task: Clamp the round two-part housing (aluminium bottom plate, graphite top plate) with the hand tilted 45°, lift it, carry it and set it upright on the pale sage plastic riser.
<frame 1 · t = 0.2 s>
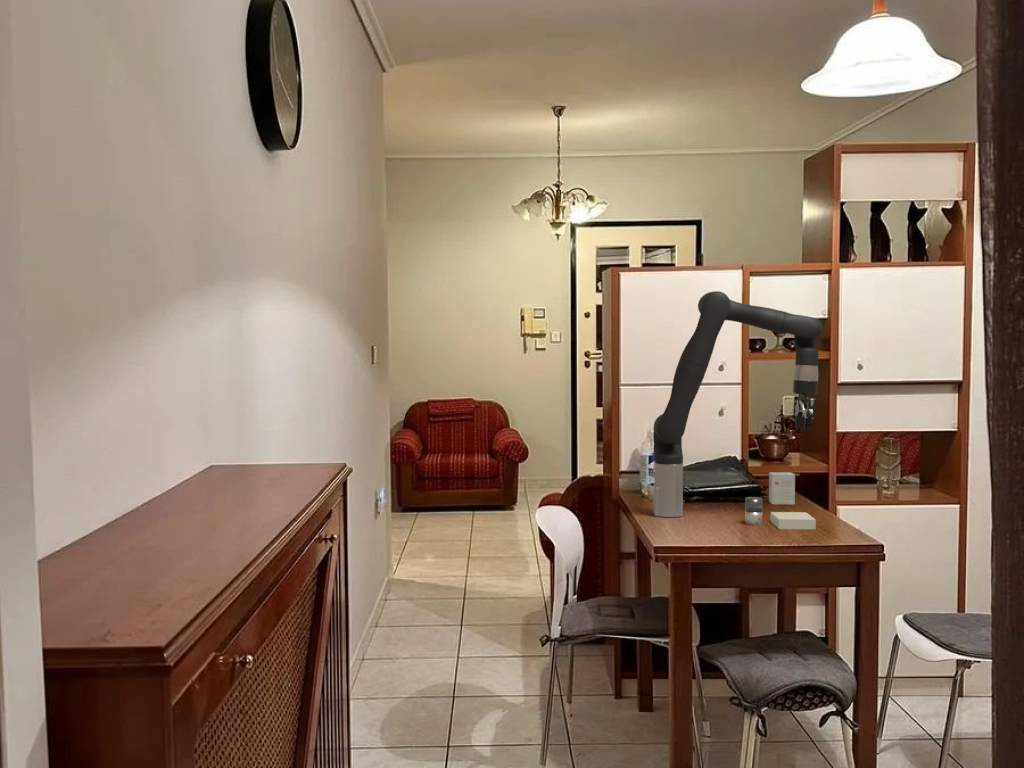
hand: (803, 429, 294), 28 cm above the table, tool pointing down, fingers open, 8 cm apart
small box: (781, 503, 317), on the table
riser: (792, 525, 281), on the table
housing: (753, 523, 283), on the table
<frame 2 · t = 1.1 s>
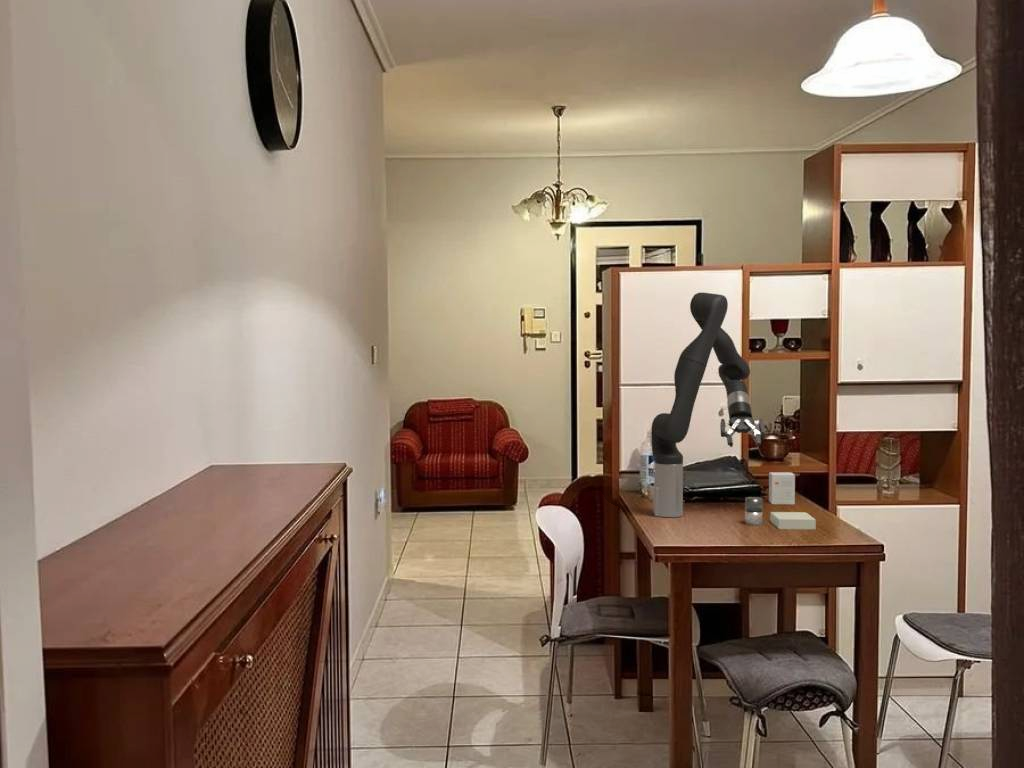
hand: (744, 445, 297), 23 cm above the table, tool tilted 45°, fingers open, 8 cm apart
nothing on the table moved.
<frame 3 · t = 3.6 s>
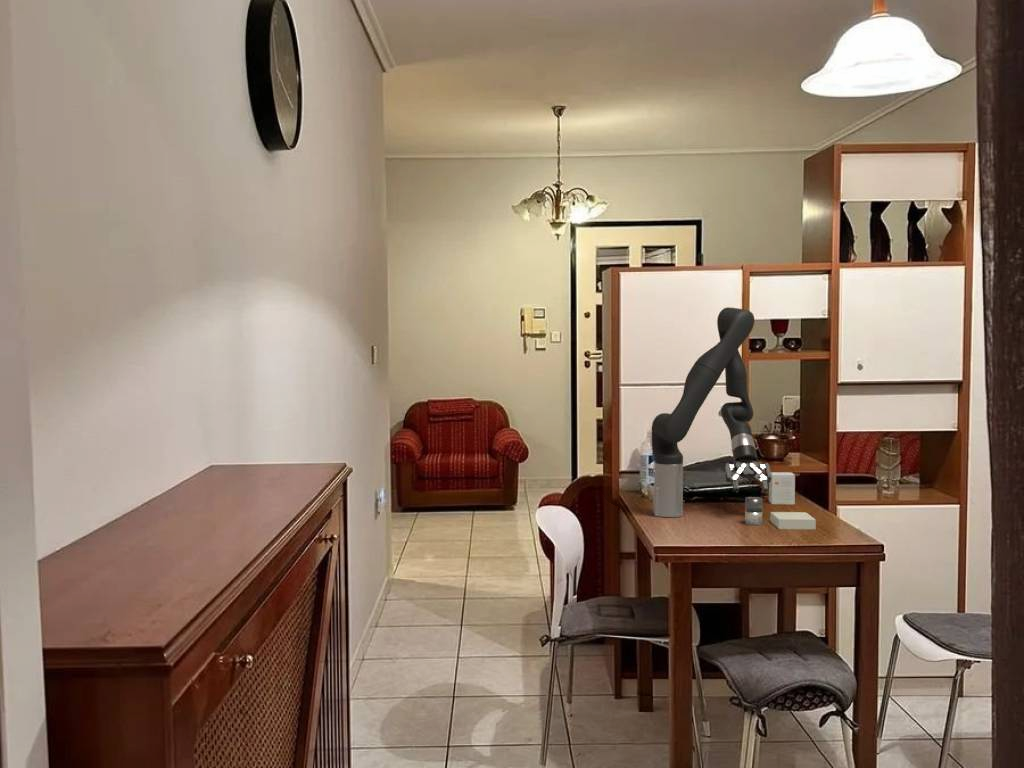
hand: (751, 491, 288), 9 cm above the table, tool tilted 45°, fingers open, 8 cm apart
nothing on the table moved.
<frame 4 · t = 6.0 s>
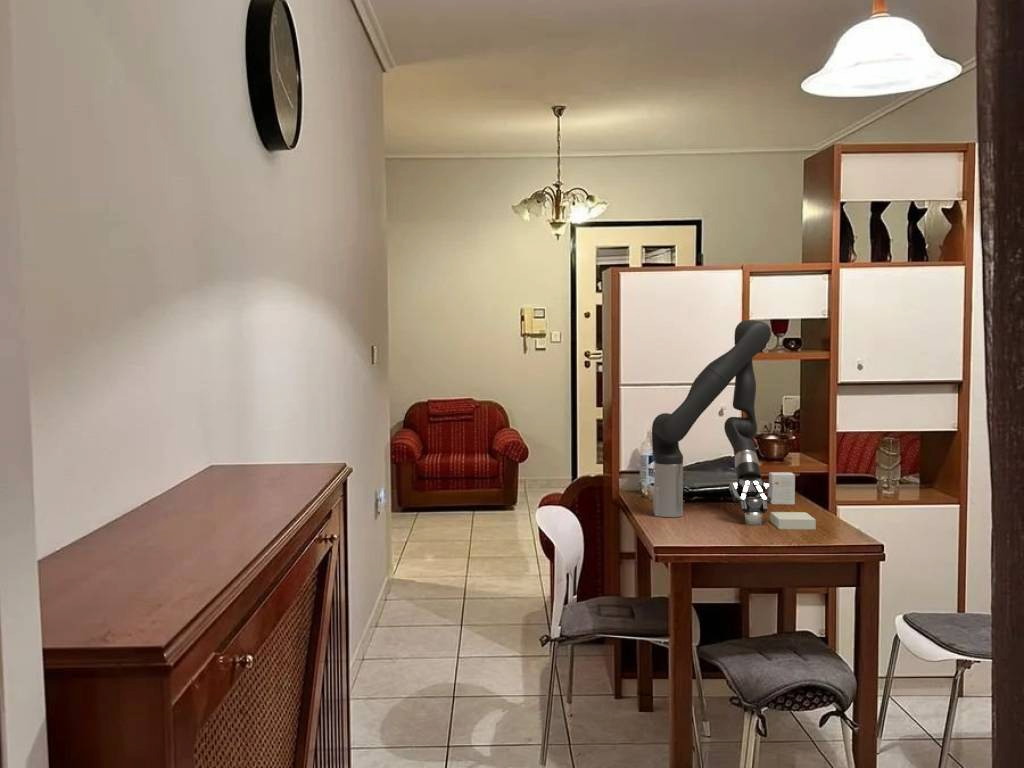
hand: (755, 511, 281), 4 cm above the table, tool tilted 45°, fingers closed on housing, 5 cm apart
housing: (753, 523, 283), on the table, touching gripper
everything else where it was.
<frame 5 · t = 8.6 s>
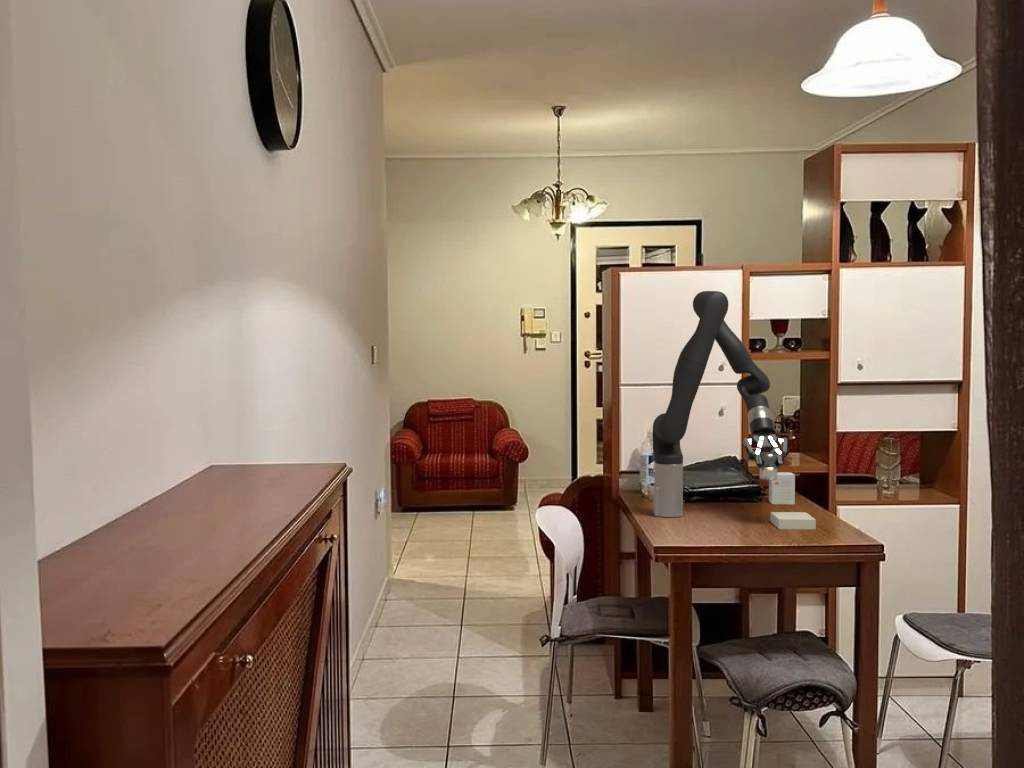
hand: (770, 466, 280), 18 cm above the table, tool tilted 45°, fingers closed on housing, 5 cm apart
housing: (768, 478, 282), point 14 cm above the table, touching gripper
everything else where it was.
when the fingers open (8 cm above the table, at t = 11.4 s): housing stays where it is, resting on riser.
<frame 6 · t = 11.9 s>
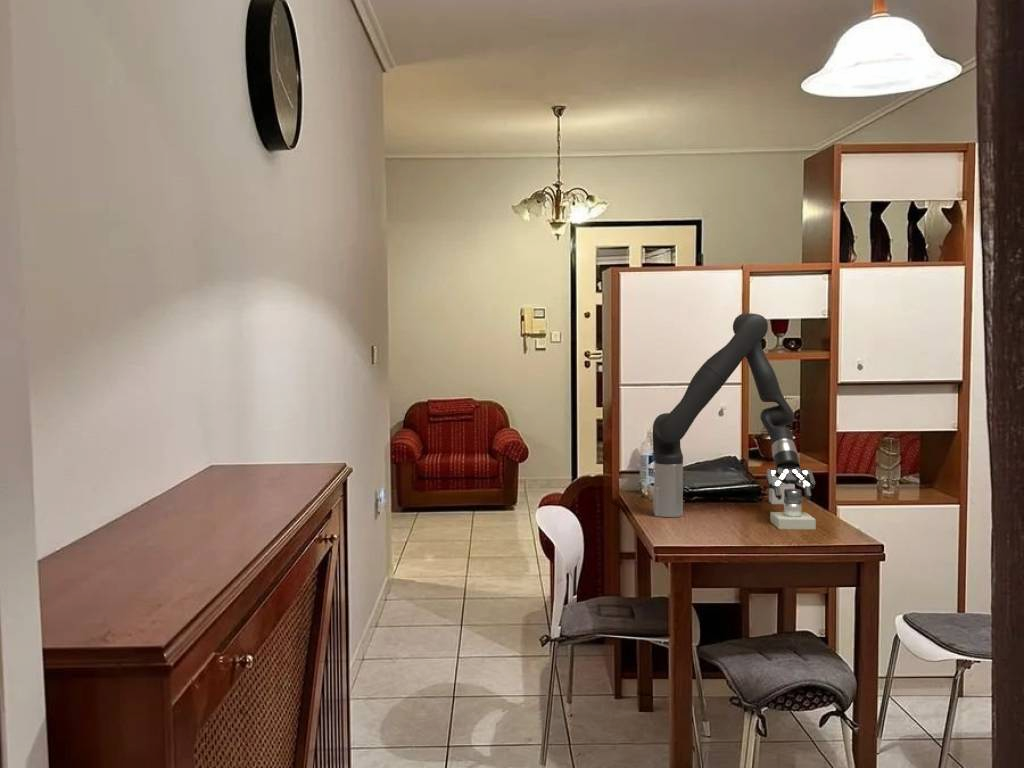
hand: (794, 498, 279), 9 cm above the table, tool tilted 45°, fingers open, 8 cm apart
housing: (792, 515, 281), point 3 cm above the table, touching riser
everything else where it was.
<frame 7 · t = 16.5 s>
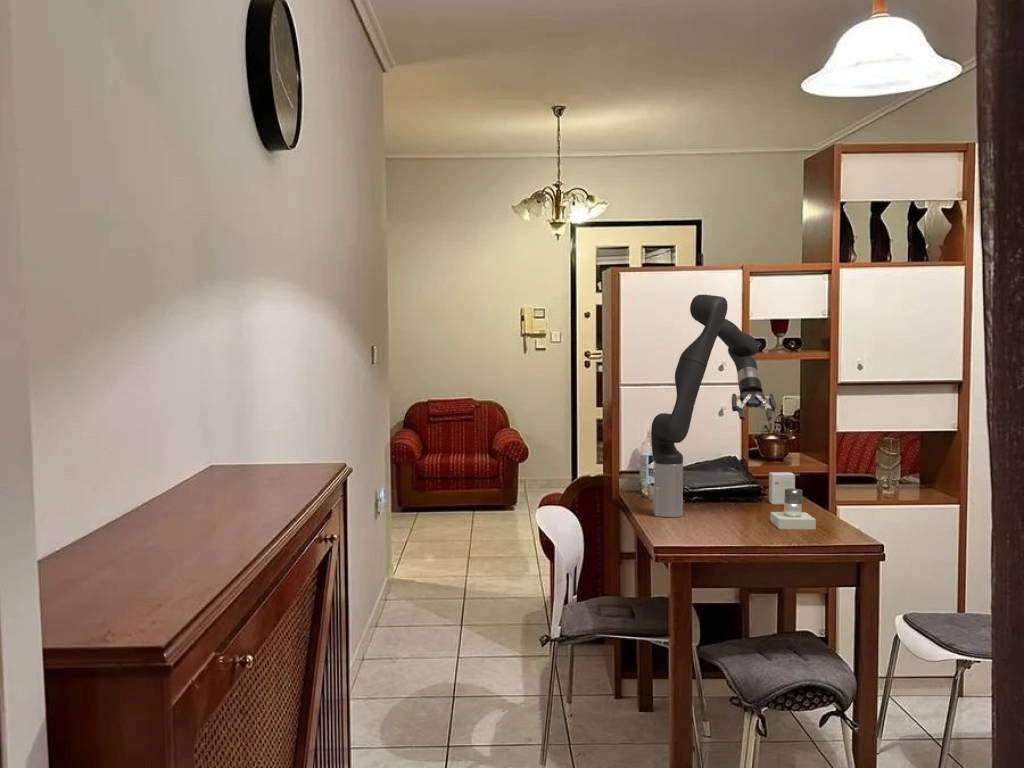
hand: (756, 419, 302), 31 cm above the table, tool tilted 45°, fingers open, 8 cm apart
nothing on the table moved.
at the end: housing inside the target area on the riser (0.1 cm from its centre), point 3.1 cm above the riser's base; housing tilted 2°; the gripper is holding nothing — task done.
